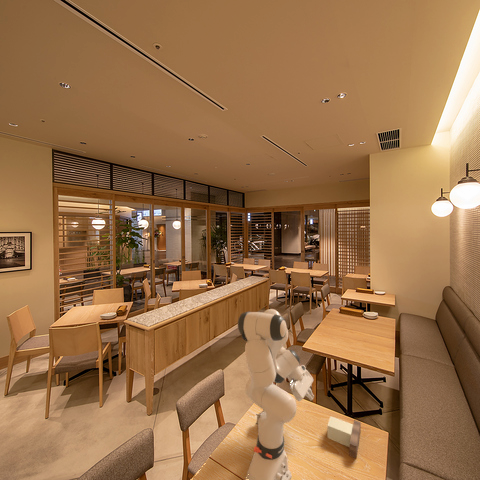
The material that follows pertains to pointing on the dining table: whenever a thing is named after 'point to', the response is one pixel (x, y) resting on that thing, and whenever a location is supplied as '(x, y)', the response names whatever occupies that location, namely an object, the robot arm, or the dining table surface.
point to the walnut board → (355, 438)
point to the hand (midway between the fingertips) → (312, 398)
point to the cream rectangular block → (339, 431)
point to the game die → (259, 415)
